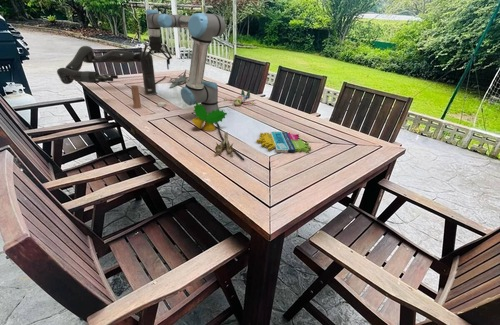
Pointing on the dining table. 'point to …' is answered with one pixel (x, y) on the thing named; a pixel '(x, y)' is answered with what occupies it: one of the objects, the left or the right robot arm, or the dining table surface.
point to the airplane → (179, 80)
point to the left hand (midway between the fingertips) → (115, 78)
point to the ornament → (207, 117)
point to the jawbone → (224, 145)
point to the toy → (241, 99)
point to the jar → (136, 96)
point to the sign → (283, 142)
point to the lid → (161, 104)
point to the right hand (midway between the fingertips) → (158, 69)
